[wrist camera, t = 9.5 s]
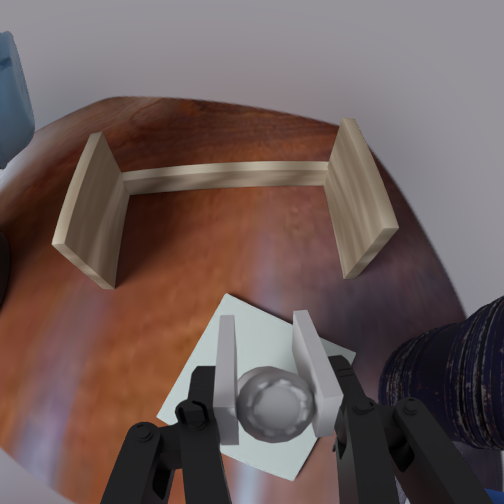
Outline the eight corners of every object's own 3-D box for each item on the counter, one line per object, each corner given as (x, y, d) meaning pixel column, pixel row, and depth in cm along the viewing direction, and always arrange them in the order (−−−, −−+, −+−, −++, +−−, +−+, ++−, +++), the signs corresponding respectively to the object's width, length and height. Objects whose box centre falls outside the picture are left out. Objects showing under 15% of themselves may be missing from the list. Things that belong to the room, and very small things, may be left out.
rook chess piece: (251, 354, 18) (254, 332, 11) (311, 384, 17) (354, 381, 10) (218, 411, 16) (197, 428, 9) (279, 441, 15) (301, 477, 8)
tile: (158, 416, 19) (156, 416, 19) (226, 295, 24) (226, 293, 24) (291, 479, 17) (292, 481, 17) (353, 353, 22) (356, 352, 21)
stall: (103, 288, 24) (51, 244, 16) (122, 187, 29) (93, 129, 21) (355, 278, 25) (399, 227, 17) (331, 177, 30) (352, 114, 22)
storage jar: (388, 455, 18) (513, 489, 4) (363, 358, 22) (488, 310, 8) (466, 406, 19) (584, 388, 5) (444, 321, 23) (556, 257, 10)
